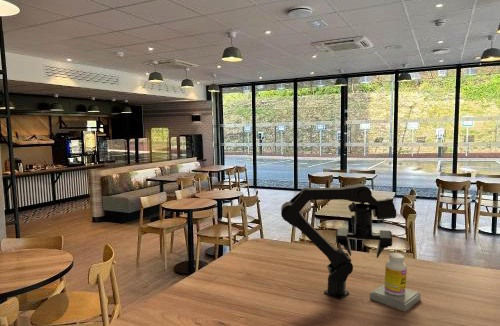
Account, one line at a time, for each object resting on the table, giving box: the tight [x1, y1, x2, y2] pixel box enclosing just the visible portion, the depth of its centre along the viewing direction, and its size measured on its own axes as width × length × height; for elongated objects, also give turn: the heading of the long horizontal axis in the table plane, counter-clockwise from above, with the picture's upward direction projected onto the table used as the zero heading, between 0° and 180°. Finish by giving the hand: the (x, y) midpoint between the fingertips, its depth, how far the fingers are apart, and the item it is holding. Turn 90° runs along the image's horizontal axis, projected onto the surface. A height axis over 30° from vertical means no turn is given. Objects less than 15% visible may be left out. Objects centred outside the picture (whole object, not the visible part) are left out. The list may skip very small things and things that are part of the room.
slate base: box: [369, 283, 422, 312], centre depth 122 cm, size 12×12×2 cm
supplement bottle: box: [384, 252, 408, 296], centre depth 121 cm, size 7×7×13 cm
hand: (363, 256), depth 130 cm, fingers open, 9 cm apart
